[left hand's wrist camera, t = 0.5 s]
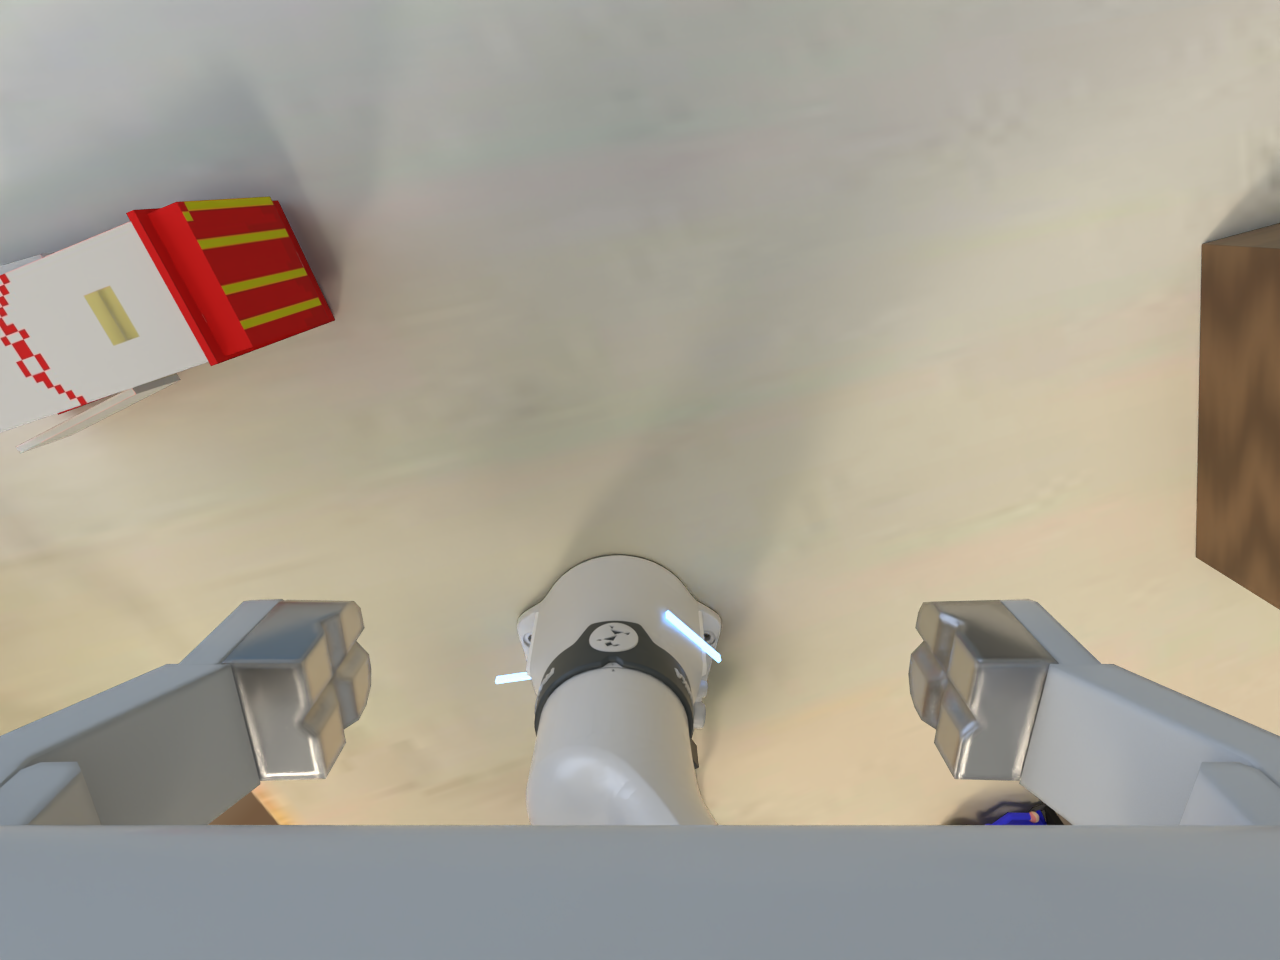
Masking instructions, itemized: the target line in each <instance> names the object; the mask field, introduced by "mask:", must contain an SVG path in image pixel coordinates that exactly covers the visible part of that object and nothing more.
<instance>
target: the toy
mask: <svg viewBox="0 0 1280 960" xmlns="http://www.w3.org/2000/svg"><path fill="white" fill-rule="evenodd" d="M126 214H127V216H128V217H129V219H130V222H127V223H125V224H122V225H120V226H118V227H115V228H113V229H110V230H108V231H106V232H103V233H101V234H98V235H96V236H94V237H91V238H89V239H86V240H84V241H82V242H79V243H77V244H74V245H72V246H69V247H67V248H65V249H62V250H60V251H57V252H53V253H46V254H40V255H36V256H33V257H29V258H26V259H22V260H19V261H15V262H11V263H8V264H4V265H1V266H0V433H1V432H4V431H7V430H10V429H13V428H16V427H19V426H22V425H24V424H27V423H30V422H33V421H36V420H39V419H42V418H45V417H48V416H51V415H54V414H61V413H64V412H67V411H70V410H72V409H75V408H78V407H80V406H83V405H86V404H89V403H91V402H94V401H97V400H99V399H102V398H105V397H107V396H110V395H113V394H116V393H118V392H121V391H123V392H121V393H119V394H117V395H115V396H113V397H111V398H109V399H107V400H105V401H103V402H101V403H99V404H97V405H96V406H94V407H92V408H90V409H88V410H86V411H84V412H82V413H80V414H78V415H76V416H74V417H72V418H70V419H68V420H66V421H64V422H63V423H61V424H59V425H57V426H55V427H53V428H51V429H49V430H47V431H45V432H43V433H41V434H39V435H37V436H35V437H33V438H32V439H30V440H28V441H26V442H24V443H22V444H20V445H18V446H16V448H17V450H18V451H19V452H20V453H23V452H26V451H28V450H31V449H34V448H37V447H40V446H43V445H45V444H48V443H51V442H54V441H57V440H60V439H62V438H65V437H68V436H71V435H73V434H75V433H77V432H79V431H81V430H83V429H85V428H87V427H89V426H91V425H93V424H95V423H97V422H99V421H101V420H103V419H105V418H107V417H108V416H110V415H112V414H114V413H116V412H118V411H120V410H122V409H124V408H126V407H128V406H130V405H132V404H134V403H136V402H138V401H140V400H142V399H144V398H146V397H148V396H150V395H152V394H154V393H156V392H158V391H160V390H162V389H164V388H166V387H168V386H170V385H172V384H173V383H175V382H177V381H179V380H181V379H180V378H179V376H178V375H177V374H174V373H177V372H180V371H183V370H186V369H189V368H192V367H195V366H198V365H201V364H203V363H206V362H209V363H210V365H211V366H213V365H216V364H219V363H221V362H224V361H227V360H229V359H232V358H235V357H237V356H240V355H243V354H245V353H248V352H251V351H254V350H256V349H259V348H262V347H264V346H267V345H270V344H272V343H275V342H278V341H281V340H283V339H286V338H289V337H291V336H294V335H297V334H299V333H302V332H305V331H307V330H310V329H313V328H316V327H318V326H321V325H324V324H326V323H329V322H332V321H334V320H335V319H334V317H333V315H332V313H331V311H330V309H329V306H328V304H327V302H326V300H325V298H324V296H323V294H322V292H321V290H320V288H319V285H318V283H317V281H316V279H315V277H314V275H313V273H312V271H311V269H310V267H309V264H308V262H307V260H306V258H305V256H304V254H303V252H302V250H301V248H300V246H299V243H298V241H297V239H296V237H295V235H294V233H293V231H292V229H291V227H290V225H289V222H288V220H287V218H286V216H285V214H284V212H283V210H282V208H281V206H280V204H279V201H272V200H271V198H270V197H254V198H237V199H219V200H202V201H184V202H175V203H173V204H170V205H168V206H166V207H163V208H157V209H142V210H132V211H130V212H128V213H126ZM171 374H172V375H171ZM168 375H169V376H168ZM165 376H166V377H165ZM124 390H125V391H124Z"/></svg>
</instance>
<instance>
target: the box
mask: <svg viewBox="0 0 1280 960" xmlns="http://www.w3.org/2000/svg"><path fill="white" fill-rule="evenodd" d="M1196 557H1197V558H1198V559H1200V560H1201V561H1203V562H1204V563H1206V564H1208V565H1209V566H1211V567H1212V568H1214V569H1216V570H1217V571H1219V572H1220V573H1222V574H1224V575H1225V576H1227V577H1228V578H1230V579H1232V580H1233V581H1235V582H1236V583H1238V584H1240V585H1241V586H1243V587H1244V588H1246V589H1248V590H1249V591H1251V592H1252V593H1254V594H1256V595H1257V596H1259V597H1260V598H1262V599H1264V600H1265V601H1267V602H1268V603H1270V604H1272V605H1273V606H1275V607H1276V608H1278V609H1280V223H1278V224H1275V225H1271V226H1267V227H1264V228H1260V229H1256V230H1252V231H1249V232H1245V233H1241V234H1238V235H1234V236H1230V237H1226V238H1223V239H1219V240H1215V241H1212V242H1208V243H1204V244H1202V276H1201V328H1200V380H1199V432H1198V484H1197V536H1196Z"/></svg>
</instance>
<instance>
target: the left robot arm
mask: <svg viewBox="0 0 1280 960" xmlns="http://www.w3.org/2000/svg"><path fill="white" fill-rule="evenodd" d="M363 629H364V623H363V618H362V613H361V608H360V607H359V606H358V605H357V604H356V603H355V602H354V601H321V600H283V599H270V600H249V601H244V602H242V603H241V604H240V605H239V606H238V607H237V608H236V609H235V610H234V611H233V612H232V613H231V614H230V615H229V616H228V617H227V618H226V619H225V620H224V621H223V622H222V623H221V624H220V625H219V626H218V627H216V628H215V629H214V630H213V631H212V632H211V633H210V634H209V635H208V636H207V637H206V638H205V639H204V640H203V641H202V642H201V643H200V644H199V645H198V646H197V647H196V648H195V649H194V650H193V651H192V652H191V653H189V654H188V655H187V656H186V657H185V658H184V659H183V660H182V661H181V662H180V663H179V664H166V665H164V666H161V667H159V668H157V669H154V670H152V671H150V672H148V673H145V674H143V675H141V676H138V677H136V678H134V679H131V680H129V681H127V682H124V683H122V684H120V685H117V686H115V687H113V688H111V689H108V690H106V691H104V692H101V693H99V694H97V695H94V696H92V697H90V698H87V699H85V700H83V701H80V702H78V703H76V704H74V705H71V706H69V707H67V708H64V709H62V710H60V711H57V712H55V713H53V714H50V715H48V716H46V717H43V718H41V719H39V720H37V721H34V722H32V723H30V724H27V725H25V726H23V727H20V728H18V729H16V730H13V731H11V732H9V733H6V734H4V735H2V736H0V960H1280V736H1278V735H1275V734H1273V733H1271V732H1269V731H1266V730H1264V729H1262V728H1259V727H1257V726H1255V725H1252V724H1250V723H1248V722H1245V721H1243V720H1241V719H1239V718H1236V717H1234V716H1232V715H1229V714H1227V713H1225V712H1222V711H1220V710H1218V709H1215V708H1213V707H1211V706H1209V705H1206V704H1204V703H1202V702H1199V701H1197V700H1195V699H1192V698H1190V697H1188V696H1185V695H1183V694H1181V693H1179V692H1176V691H1174V690H1172V689H1169V688H1167V687H1165V686H1162V685H1160V684H1158V683H1156V682H1153V681H1151V680H1149V679H1146V678H1144V677H1142V676H1139V675H1137V674H1135V673H1132V672H1130V671H1128V670H1126V669H1123V668H1121V667H1119V666H1116V665H1114V664H1101V663H1100V662H1099V661H1098V660H1097V659H1096V658H1095V657H1094V656H1093V655H1092V654H1091V653H1090V652H1089V651H1087V650H1086V649H1085V648H1084V647H1083V646H1082V645H1081V644H1080V643H1079V642H1078V641H1077V640H1076V639H1075V638H1074V637H1073V636H1072V635H1071V634H1070V633H1069V632H1068V631H1067V630H1066V629H1065V628H1064V627H1063V626H1062V625H1061V624H1060V623H1058V622H1057V621H1056V620H1055V619H1054V618H1053V617H1052V616H1051V615H1050V614H1049V613H1048V612H1047V611H1046V610H1045V609H1044V608H1043V607H1042V606H1041V605H1040V604H1039V603H1038V602H1035V601H1032V600H1029V599H1016V600H984V601H943V602H924V603H923V604H922V606H921V608H920V610H919V612H918V617H917V622H916V629H917V631H918V632H919V634H920V636H921V637H922V639H923V640H924V641H923V642H922V644H921V645H920V646H919V647H918V648H917V649H916V650H915V651H914V652H913V653H912V654H911V659H910V667H909V685H910V694H911V697H912V700H913V703H914V707H915V709H916V711H917V712H918V714H919V716H920V718H921V720H922V721H924V722H926V723H927V724H929V725H930V726H932V727H933V728H935V729H936V735H935V740H934V743H935V745H936V747H937V749H938V750H939V752H940V754H941V756H942V757H943V759H944V761H945V763H946V765H947V766H948V768H949V770H950V772H951V773H952V775H953V777H954V779H975V780H1011V781H1020V783H1019V784H1021V785H1022V786H1023V787H1024V788H1026V789H1027V790H1028V791H1030V792H1031V793H1032V794H1033V795H1035V796H1036V797H1037V798H1039V799H1040V800H1041V801H1043V802H1044V803H1045V804H1046V805H1048V806H1049V807H1050V808H1052V809H1053V810H1054V811H1055V812H1057V813H1058V814H1059V815H1061V816H1062V817H1063V818H1064V819H1066V820H1067V821H1068V822H1070V823H1071V824H1072V825H718V824H717V822H716V821H715V820H714V818H713V817H712V816H711V814H710V812H709V811H708V809H707V807H706V806H705V804H704V802H703V799H702V797H701V795H700V791H699V788H698V784H697V779H696V775H695V770H694V769H697V768H698V767H699V764H698V755H697V746H696V744H695V743H694V742H693V740H692V739H691V738H692V735H693V731H694V728H695V729H701V728H703V727H704V723H705V715H706V707H705V704H704V703H703V702H702V698H703V697H706V695H707V689H708V683H707V680H708V676H709V672H710V669H711V665H712V661H713V659H715V660H716V661H717V662H718V663H719V662H720V661H721V657H720V654H719V653H717V652H716V651H715V650H716V647H717V643H718V639H719V636H720V632H721V618H720V616H719V615H718V614H717V613H716V612H714V611H713V610H712V609H710V608H708V607H707V606H705V605H703V604H701V603H699V602H698V601H696V600H695V599H694V598H693V596H692V595H691V594H690V593H689V591H688V590H687V588H686V587H685V586H684V585H683V583H682V582H681V581H680V580H679V579H678V578H677V577H676V576H675V575H674V574H672V573H671V572H670V571H668V570H667V569H665V568H664V567H662V566H660V565H658V564H656V563H654V562H652V561H649V560H646V559H643V558H638V557H633V556H625V555H612V556H604V557H598V558H594V559H591V560H588V561H586V562H583V563H581V564H579V565H577V566H575V567H573V568H572V569H570V570H569V571H568V572H566V573H565V574H564V575H563V576H562V577H560V578H559V580H558V581H557V582H556V583H555V584H554V585H553V587H552V588H551V590H550V591H549V593H548V594H547V595H546V597H545V598H544V599H543V600H542V601H541V602H540V603H538V604H537V605H535V606H533V607H532V608H530V609H528V610H527V611H525V612H524V613H523V614H522V615H521V616H520V617H519V619H518V622H517V632H518V635H519V638H520V641H521V645H522V648H523V651H524V654H525V657H526V660H527V667H526V672H524V673H517V674H510V675H503V676H497V678H496V681H495V682H496V684H499V683H506V682H513V681H520V680H528V679H531V680H532V684H533V687H534V690H535V693H536V695H537V698H536V704H535V732H536V742H535V747H534V752H533V757H532V762H531V767H530V772H529V777H528V782H527V789H526V807H527V813H528V817H529V820H530V823H531V825H208V824H209V823H211V822H212V821H213V820H214V819H216V818H217V817H218V816H220V815H221V814H222V813H223V812H225V811H226V810H227V809H229V808H230V807H231V806H233V805H234V804H235V803H236V802H238V801H239V800H240V799H242V798H243V797H244V796H245V795H247V794H248V793H249V792H251V791H252V790H253V789H255V788H256V787H257V786H258V785H260V781H269V780H304V779H326V777H327V775H328V773H329V772H330V770H331V768H332V766H333V765H334V763H335V761H336V759H337V758H338V756H339V754H340V752H341V750H342V749H343V747H344V745H345V743H346V740H345V735H344V729H345V728H347V727H348V726H350V725H351V724H353V723H354V722H356V721H358V720H359V718H360V716H361V714H362V712H363V710H364V709H365V707H366V704H367V700H368V696H369V692H370V687H371V665H370V658H369V654H368V653H367V652H366V651H365V650H364V649H363V648H362V647H361V646H360V645H359V644H358V642H357V641H356V640H357V639H358V637H359V636H360V634H361V632H362V631H363ZM704 634H709V636H707V637H704ZM530 635H532V637H530Z"/></svg>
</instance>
